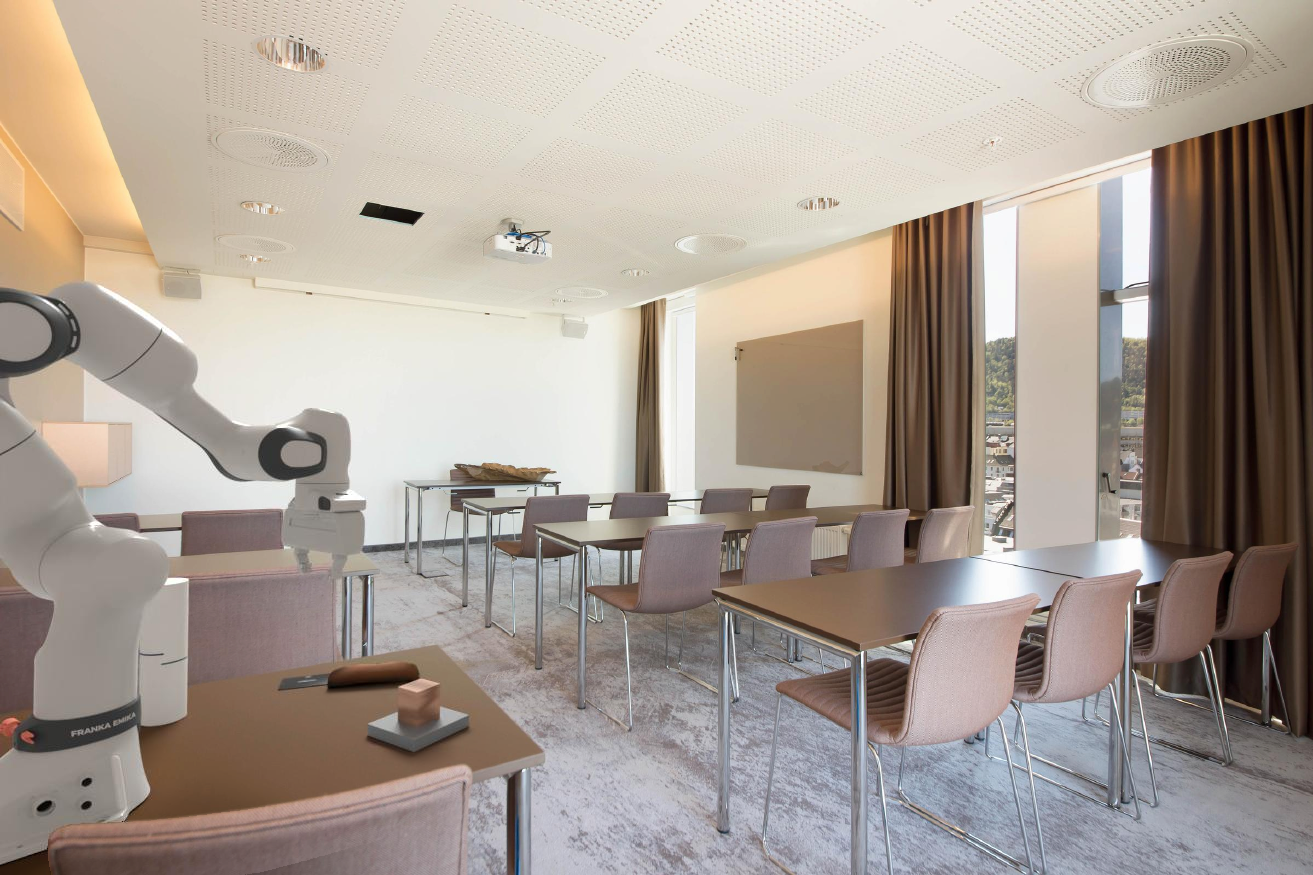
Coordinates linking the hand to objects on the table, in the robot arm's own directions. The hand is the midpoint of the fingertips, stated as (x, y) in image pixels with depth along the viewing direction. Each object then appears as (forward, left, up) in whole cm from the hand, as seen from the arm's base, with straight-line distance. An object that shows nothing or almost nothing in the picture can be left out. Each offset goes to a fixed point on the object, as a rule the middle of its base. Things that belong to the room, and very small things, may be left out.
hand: (319, 575), depth 121 cm
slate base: (+8, -18, -27) cm, 33 cm away
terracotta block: (+8, -17, -25) cm, 31 cm away
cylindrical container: (-13, +27, -27) cm, 40 cm away
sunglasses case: (+20, +11, -27) cm, 36 cm away
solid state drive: (+12, +22, -28) cm, 37 cm away
